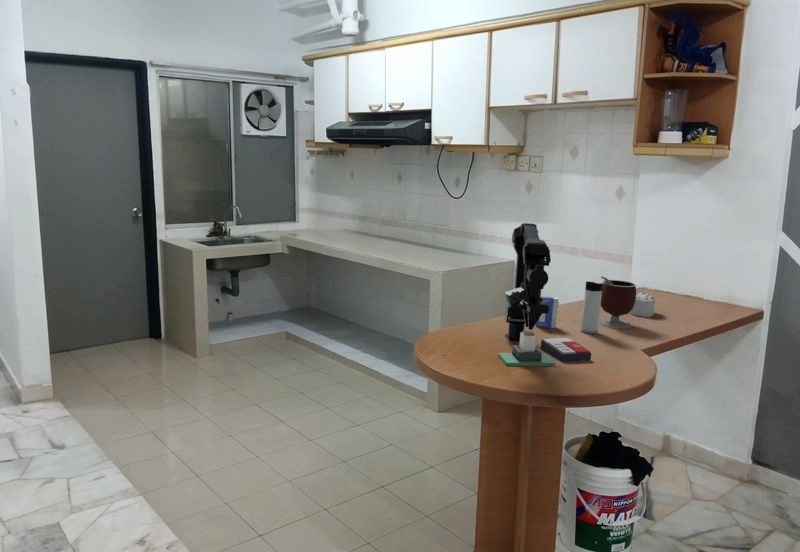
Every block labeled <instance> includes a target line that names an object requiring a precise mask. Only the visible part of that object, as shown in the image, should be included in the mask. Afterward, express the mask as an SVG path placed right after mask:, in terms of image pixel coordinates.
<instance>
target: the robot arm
mask: <svg viewBox="0 0 800 552" xmlns="http://www.w3.org/2000/svg"><path fill="white" fill-rule="evenodd" d="M537 227H538V226H537V224H535V223H529V222H523V223H521V224H520V225H519V226H517V227H516V228H514V229H513V230H512V231H513V232H512V237H511V243H512V247H513V249H514V251H515V253H516V261H515V263H516V265H515V275H514V288H513V289H511V290H507V291H506V292H504V295H505V299H506V303H508V306H506V310H505V313H504V314H505V315H504V320H505V323H508V328H507V329H508V332H507V333H506V334H504V337H506V338H507V339H508V340H509V341H520V332H522V331H525V329H526V328H528V331H530V330H531V331H532V330H533V329H534V328H535V327H536V325H535V324H536V322H537V321H538V319H539V318H540V316H541V315H542V314H548V313H549V309H550V307H549V306H548V305H547V304H546V303H544V302H542V300H543V298H541V297H542V290H544V286H546V285H547V283H548V282H549V274H548V273H547V271H545V267H550V263H551V260H552V259H551V251H550V249H549V246H548V245H547V243H546V241H545V240H542V239H540V236H539V230H538V229H537ZM525 327H526V328H525Z"/></svg>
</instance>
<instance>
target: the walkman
mask: <svg viewBox="0 0 800 552" xmlns="http://www.w3.org/2000/svg"><path fill="white" fill-rule="evenodd" d="M541 298H543V300H542V302H544V303H546V304H547V305H548V306H549V307H550V309H549V313H548V314H542V315H541V316H540V318H539V319H538V321H537V322H536V324H535V327H536V328H537V327H538V328H550V329H556V327H557V319H558V318H557V317H558V316H557V315H558V309H559V297H555V296H554V297H551V296H541Z"/></svg>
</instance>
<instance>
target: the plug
mask: <svg viewBox="0 0 800 552" xmlns="http://www.w3.org/2000/svg"><path fill="white" fill-rule="evenodd" d="M537 337H538V335H537V334H536V333H534V332H533V331H532V330H531V331H530V330H528V331H527V330H524V331H522V332H520V340H519V344H518V346H519V350H520V351H521V352H535V347H537V339H538V338H537Z"/></svg>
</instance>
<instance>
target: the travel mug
mask: <svg viewBox="0 0 800 552" xmlns="http://www.w3.org/2000/svg"><path fill="white" fill-rule="evenodd" d="M602 286H603V284H602V283H601V282H599V283H598V282H595V281H589V280H588V281H585V288H584V297H583V305H582V308H583V309H582V316H581V325H580V331H581V333H585V334H588V335H595V334H598V331H599V325H600V323H599V320H600V316H601V315H600V314H601V296H602Z"/></svg>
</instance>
